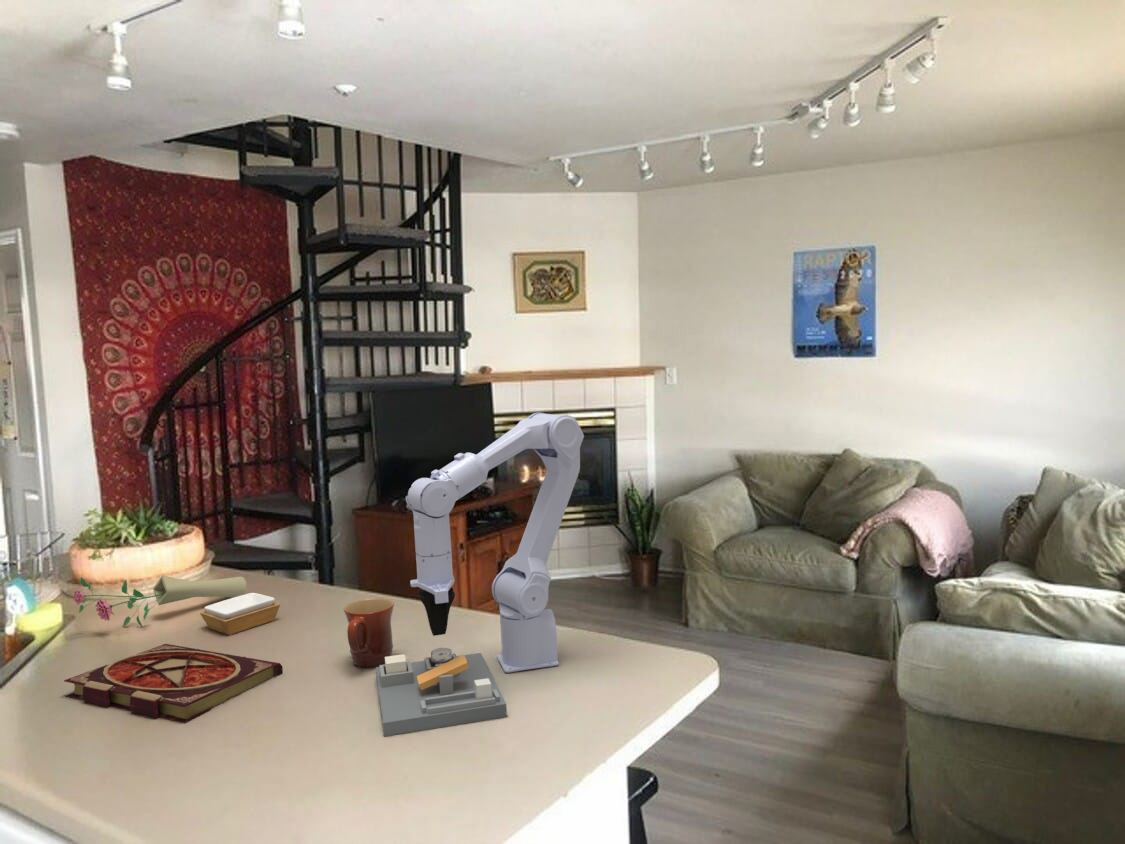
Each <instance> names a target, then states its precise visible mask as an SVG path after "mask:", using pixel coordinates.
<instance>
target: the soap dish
mask: <svg viewBox="0 0 1125 844" xmlns="http://www.w3.org/2000/svg"><path fill="white" fill-rule="evenodd" d="M275 601H276V599H275V598H274V597H273V596H269V595H265V594H261V593H257V592H249V593H245V595H241V596H238V597H234V598H228V599H225V600H221V601H219V602H215V603H212V604H208V605H206V606H204V608H203V609H204V611H201V612H200V616H201V617H202V619H203V621H204V622H205V624H206V625H207V628H209V629H210V630H213V631H216V632H219V633H222V634H225V635H228V636H233V635H234V634H236V633H237V634H238V633H239V632H242V631H245V630H248V629H251V628H255V627H259V626H260V625H264V624H267V623H272V622H273V621H275V619H276V617H277V615H278V612H279V609H280V607H281V604H280V603H277V602H275Z"/></svg>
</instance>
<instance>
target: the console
mask: <svg viewBox="0 0 1125 844" xmlns="http://www.w3.org/2000/svg"><path fill="white" fill-rule="evenodd" d="M463 655H464V656H465V658H466V661H467V663H468V665H469V669H466V670H464V671H462V672H460V673H458V674H456V675H452V674H449V675H442V676H439V682H438V683H436V684H434V685H432V686H430V687H427V688H425V689H423V690H421V689H420V686H419V683H418V679H417V676H418V675H420V674H422V673H425V672H427V671H429V670H431V669H433V668H436V667H438V666H440V665H442V664H444V663H442V664H435V666H434V665H432V664H431V656H427V657H424V658H423V659H424V660H420V661H412V662H411V660H408V661H407V660H406V667H407V672H400V673H393V674H386V668H385V664H383V665H379V666H376V667H375V675H376V679H375V680H376V686H377V692H378V693H377V694H378V700H379V707H380V716H381V723H382V728H383V729H382V730H383V737H388V736H394V735H401V734H407V733H413V732H414V733H415V732H420V731H426V730H431V729H432V730H433V729H438V728H446V727H451V726H457V725H464V724H469V723H475V722H481V721H482V722H483V721H489V720H488V719H490V720H495V718H496V719H500V718H506V717H507V718H508V716H507V715H508V714H507V713H508V712H507V710H508V709H507V702H506V701H505V698H504V696H503V694H502V692H501V691H500V688H499V687H498V684H497V682H496V681H495V679H494V676H493V674H492V672H491V670H490V668H489V667H488V664H487V662H486V660H485V658H484V656H483V654H482V652H477V653H471V654H463ZM460 656H462V654H461V655H456V653H452V660H453V659H455V658H458V657H460ZM487 678H489V681H490V683H491V693H492V698H487V699H480V700H476V699H475V688H474V680H480V679H487Z"/></svg>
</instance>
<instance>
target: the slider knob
mask: <svg viewBox="0 0 1125 844" xmlns="http://www.w3.org/2000/svg"><path fill="white" fill-rule="evenodd" d="M474 688H475V699H476V700H480V699H487V698H492V693H491V683H490V681H489V678H487V679H480V680H474Z"/></svg>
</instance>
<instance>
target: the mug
mask: <svg viewBox="0 0 1125 844" xmlns="http://www.w3.org/2000/svg"><path fill="white" fill-rule="evenodd" d="M394 606H395V602H394V601H393V600H391V599H388V598H383V597H382V598H380V597H373V598H364V599H358V600H355V601H352V602H350V603H347V604H346V605H344V607H343V612H344V615H345V617H346V619H347V622H348V625H347V631H346V632H347V641H348V645H349V648H350V649H349V652H350V655H351V659H352V660H351V661H352V663H353V664H354V665H356V666H358V667H361V668H376V667H379V665H385V657H388V656H393V652H394V651H393V650H394V649H393V648H394V644H393V642H394V641H393V631H392V614H393V611H394V608H395V607H394Z"/></svg>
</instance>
